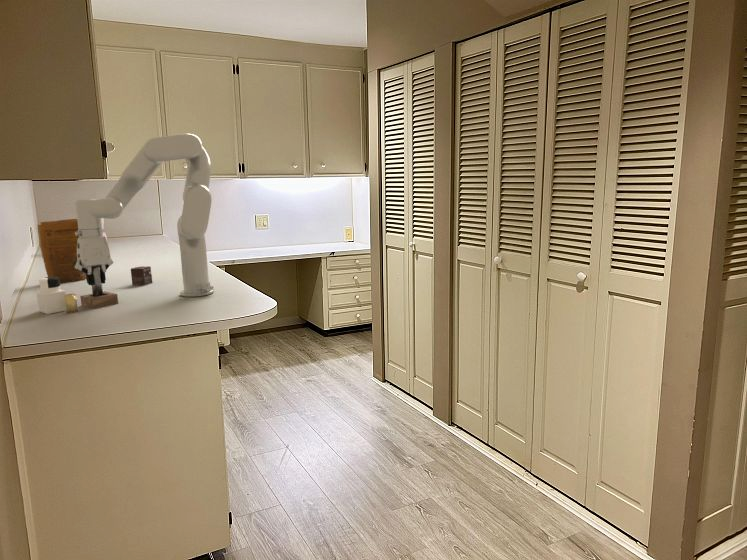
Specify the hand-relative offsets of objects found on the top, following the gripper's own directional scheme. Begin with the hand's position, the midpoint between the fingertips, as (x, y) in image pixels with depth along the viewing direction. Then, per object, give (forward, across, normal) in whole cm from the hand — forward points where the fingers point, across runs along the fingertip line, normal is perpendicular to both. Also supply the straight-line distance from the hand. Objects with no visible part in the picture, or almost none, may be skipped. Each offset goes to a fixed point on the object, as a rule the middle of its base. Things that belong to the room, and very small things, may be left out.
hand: (96, 283), depth 199 cm
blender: (+8, +74, +149) cm, 167 cm away
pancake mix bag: (+8, +16, +59) cm, 62 cm away
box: (+8, +30, +22) cm, 39 cm away
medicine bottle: (+8, -14, +4) cm, 17 cm away
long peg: (+4, 0, 0) cm, 4 cm away
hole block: (+8, 0, 0) cm, 8 cm away
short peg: (+8, -11, -3) cm, 14 cm away
